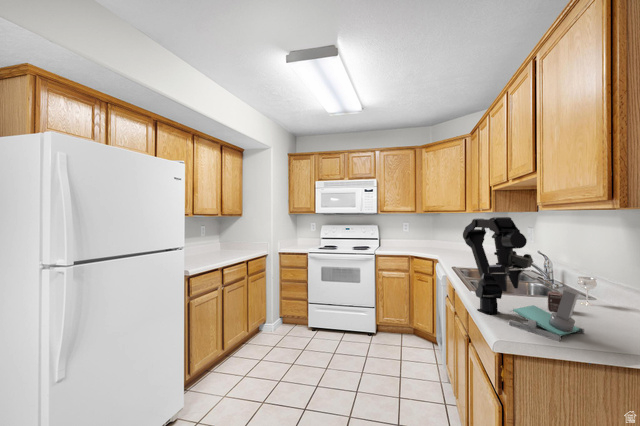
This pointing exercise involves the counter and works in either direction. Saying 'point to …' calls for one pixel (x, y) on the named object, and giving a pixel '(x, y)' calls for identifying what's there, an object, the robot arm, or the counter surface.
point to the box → (554, 300)
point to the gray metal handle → (565, 311)
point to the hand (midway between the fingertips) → (510, 289)
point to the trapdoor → (541, 318)
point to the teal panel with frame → (534, 329)
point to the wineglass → (587, 286)
